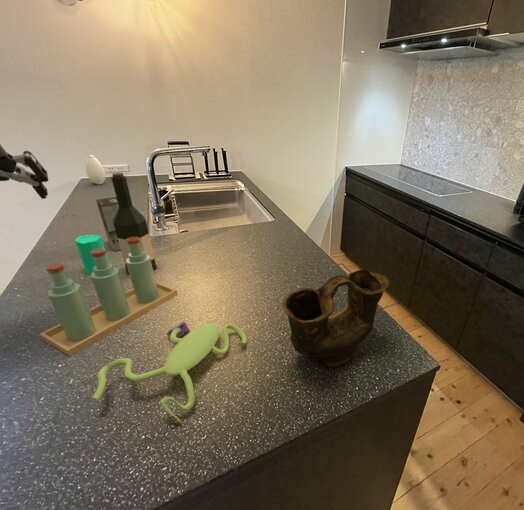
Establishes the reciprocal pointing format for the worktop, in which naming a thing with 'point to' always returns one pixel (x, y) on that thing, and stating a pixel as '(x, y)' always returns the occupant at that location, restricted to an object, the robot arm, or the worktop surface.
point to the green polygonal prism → (89, 250)
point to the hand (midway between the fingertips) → (18, 200)
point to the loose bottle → (69, 305)
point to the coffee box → (109, 219)
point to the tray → (105, 321)
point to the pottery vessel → (334, 316)
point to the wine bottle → (129, 221)
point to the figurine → (177, 359)
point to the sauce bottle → (95, 170)
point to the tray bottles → (111, 284)
